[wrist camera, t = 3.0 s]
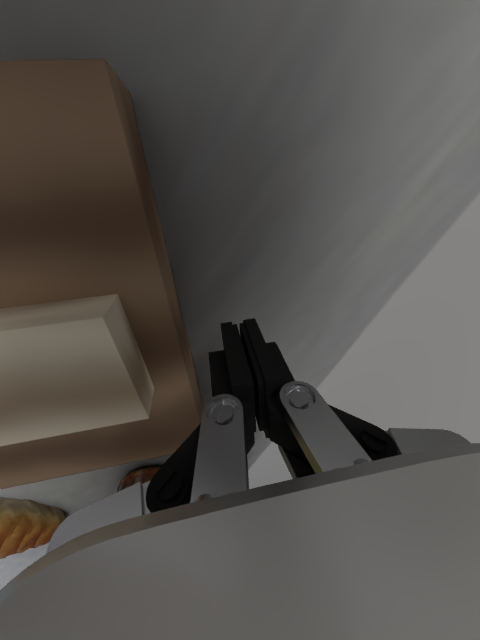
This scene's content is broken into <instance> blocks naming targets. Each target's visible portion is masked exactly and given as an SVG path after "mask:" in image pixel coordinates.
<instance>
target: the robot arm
mask: <svg viewBox="0 0 480 640" xmlns="http://www.w3.org/2000/svg"><path fill="white" fill-rule="evenodd" d="M221 331H222V339H223V346H224V350H221V351H215V352H209V362H210V374H211V385H212V398H211V399H210V400H209V401H207V403H206V404H205V406H204V408H203V411H202V418H201V423H200V424H199V425H198V427H197V428H196V429H195V430H194V431H193V432H192V433H191V434H190V435H189V437H188V438H187V439H186V440H185V441H184V442H183V443H182V444H181V445H180V447H179V448H178V449H177V450H176V451H175V452H174V453H173V454H172V455H171V457H170V458H169V459H168V460H167V461H166V462H165V463H164V464H163V466H162V467H161V468H160V469H159V470H158V471H157V472H156V473H155V475H154V476H153V478H152V479H151V480H150V481H148V482H145V483H143V484H141V482H138V483H136V484H134V485H132V486H130V487H128V488H125V489H123V490H121V491H119V492H117V493H115V494H112V495H110V496H108V497H106V498H104V499H102V500H99V501H97V502H95V503H93V504H91V505H89V506H86V507H84V508H82V509H80V510H78V511H76V512H74V513H73V514H71V515H70V516H68V517H67V518H66V519H65V520H64V521H63V522H62V523H61V524H60V525H59V526H58V528H57V529H56V531H55V532H54V534H53V536H52V537H51V540H50V543H49V546H48V548H47V553H46V555H44V556H43V557H42V558H40V559H39V560H37V561H36V562H34V563H33V564H32V565H30V566H29V567H27V568H26V569H25V570H24V571H22V572H21V573H20V574H19V575H17V576H16V577H15V578H14V579H13V580H11V581H10V582H9V583H8V584H7V585H6V586H5V587H4V588H2V589H1V590H0V640H480V443H470V442H469V441H468V440H467V439H465V438H464V437H462V436H461V435H459V434H456V433H454V432H452V431H448V430H442V429H441V430H440V429H404V428H389V429H388V431H384V430H382V429H381V428H379V427H377V426H375V425H373V424H371V423H368V422H366V421H364V420H361V419H359V418H357V417H355V416H352V415H350V414H348V413H346V412H344V411H341V410H339V409H337V408H335V407H332V406H330V405H328V404H327V403H326V401H325V400H324V399H323V398H322V396H321V395H320V394H319V393H318V391H317V390H316V389H315V388H314V387H313V386H311V385H310V384H308V383H305V382H302V381H295V380H294V378H293V376H292V374H291V372H290V370H289V368H288V366H287V364H286V362H285V360H284V358H283V356H282V354H281V352H280V350H279V348H278V346H277V344H276V343H275V342H271V343H265V341H264V338H263V336H262V334H261V331H260V329H259V327H258V324H257V322H256V320H255V319H247V320H243V323H240V334H239V331H238V328H237V324H234V325H232V322H227V323H221ZM240 336H241V338H240ZM255 416H256V420H257V423H258V427H259V430H260V431H263V430H264V432H265V436H266V438H270V440H271V441H273V442H274V443H276V444H278V448H279V450H280V452H281V455H282V457H283V459H284V461H285V463H286V465H287V468H288V470H289V472H290V474H291V476H292V478H293V479H292V480H287V481H283V482H279V483H275V484H270V485H266V486H261V487H257V488H253V489H249V478H248V457H247V454H248V453H249V451H250V450H251V448H252V446H253V445H254V443H255V442H254V432H256V420H255Z"/></svg>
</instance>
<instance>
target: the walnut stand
mask: <svg viewBox="0 0 480 640" xmlns="http://www.w3.org/2000/svg"><path fill="white" fill-rule="evenodd" d="M112 294H118V296H119V298H120V301H121V303H122V306H123V309H124V311H125V314H126V316H127V319H128V321H129V324H130V327H131V329H132V332H133V334H134V337H135V339H136V342H137V344H138V347H139V350H140V352H141V355H142V357H143V360H144V362H145V365H146V368H147V370H148V373H149V375H150V378H151V380H152V383H153V386H154V393H153V399H152V404H151V410H150V415H149V419H144V420H139V421H133V422H128V423H123V424H117V425H112V426H107V427H101V428H96V429H91V430H85V431H80V432H74V433H69V434H64V435H58V436H53V437H48V438H42V439H37V440H32V441H26V442H21V443H16V444H10V445H5V446H0V488H1V489H4V488H9V487H14V486H19V485H24V484H29V483H34V482H39V481H43V480H48V479H53V478H58V477H63V476H68V475H73V474H77V473H82V472H87V471H92V470H97V469H102V468H107V467H111V466H116V465H121V464H126V463H131V462H136V461H141V460H145V459H150V458H155V457H160V456H165V455H170V454H173V453H174V452H175V451H176V450H177V449H178V448H179V447H180V445H181V444H182V443H183V442H184V441H185V440H186V439H187V438H188V437H189V435H190V434H191V433H192V432H193V431H194V430H195V429H196V428H197V427H198V425H199V424H200V423H201V418H202V411H203V408H204V406H203V402H202V398H201V394H200V389H199V385H198V381H197V377H196V372H195V368H194V364H193V360H192V355H191V351H190V347H189V343H188V339H187V334H186V330H185V326H184V322H183V317H182V313H181V309H180V305H179V300H178V296H177V292H176V288H175V283H174V279H173V275H172V271H171V267H170V262H169V258H168V254H167V250H166V245H165V241H164V237H163V233H162V228H161V224H160V220H159V216H158V211H157V207H156V203H155V199H154V194H153V190H152V186H151V182H150V178H149V173H148V169H147V165H146V161H145V156H144V152H143V148H142V144H141V139H140V135H139V131H138V127H137V122H136V118H135V114H134V110H133V106H132V101H131V97H130V93H129V90H128V89H127V88H126V86H125V85H124V84H123V83H122V81H121V80H120V79H119V77H118V76H117V75H116V73H115V72H114V71H113V69H112V68H111V67H110V66H109V64H108V63H107V62H106V60H105V59H69V60H24V61H0V309H3V308H11V307H19V306H27V305H34V304H42V303H50V302H58V301H66V300H73V299H81V298H89V297H97V296H104V295H112Z"/></svg>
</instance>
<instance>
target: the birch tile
mask: <svg viewBox="0 0 480 640" xmlns="http://www.w3.org/2000/svg"><path fill="white" fill-rule="evenodd" d="M153 393H154V386H153V383H152V380H151V378H150V375H149V373H148V370H147V368H146V365H145V362H144V360H143V357H142V355H141V352H140V350H139V347H138V344H137V342H136V339H135V337H134V334H133V332H132V329H131V327H130V324H129V321H128V319H127V316H126V314H125V311H124V309H123V306H122V303H121V301H120V298H119V296H118V294H112V295H104V296H97V297H89V298H81V299H73V300H66V301H58V302H50V303H42V304H34V305H27V306H19V307H11V308H3V309H0V446H5V445H10V444H16V443H21V442H26V441H32V440H37V439H42V438H48V437H53V436H58V435H64V434H69V433H74V432H80V431H85V430H91V429H96V428H101V427H107V426H112V425H117V424H123V423H128V422H133V421H139V420H144V419H149V415H150V410H151V404H152V399H153Z"/></svg>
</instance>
